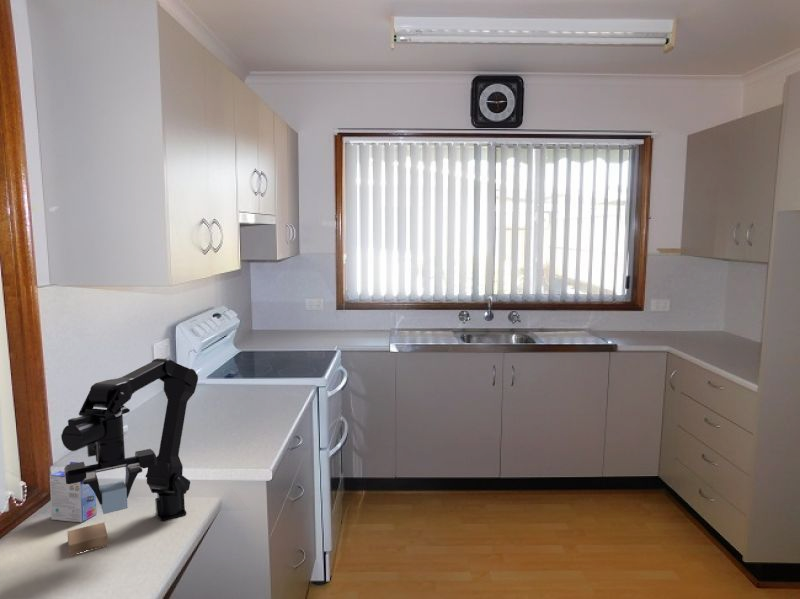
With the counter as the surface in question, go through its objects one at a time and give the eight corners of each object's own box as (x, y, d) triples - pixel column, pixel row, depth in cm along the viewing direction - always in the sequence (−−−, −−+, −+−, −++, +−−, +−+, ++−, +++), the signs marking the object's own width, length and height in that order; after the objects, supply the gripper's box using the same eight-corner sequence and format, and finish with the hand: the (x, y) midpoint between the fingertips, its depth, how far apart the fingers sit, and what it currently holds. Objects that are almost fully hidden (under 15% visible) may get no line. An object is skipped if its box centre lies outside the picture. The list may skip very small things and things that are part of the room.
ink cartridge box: (98, 513, 148) (95, 461, 147) (82, 523, 143) (79, 469, 142) (67, 510, 150) (64, 459, 149) (50, 520, 145) (47, 467, 144)
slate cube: (124, 500, 132) (123, 480, 132) (127, 508, 128) (126, 487, 128) (101, 506, 130) (99, 485, 129) (103, 514, 125) (102, 493, 125)
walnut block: (105, 533, 138) (104, 522, 138) (108, 547, 132) (107, 535, 131) (68, 543, 134) (67, 531, 134) (69, 557, 127) (68, 545, 127)
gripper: (147, 420, 139) (150, 480, 141) (61, 435, 129) (65, 499, 130) (155, 431, 130) (158, 495, 131) (63, 448, 120) (68, 517, 121)
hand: (113, 500), depth 129 cm, fingers closed on slate cube, 5 cm apart
